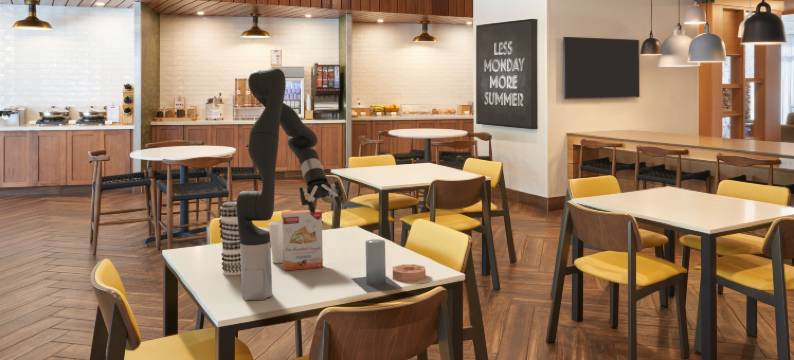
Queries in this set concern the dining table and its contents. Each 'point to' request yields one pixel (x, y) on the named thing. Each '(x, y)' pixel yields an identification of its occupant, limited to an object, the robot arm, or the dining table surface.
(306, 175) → the robot arm
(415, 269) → the pink donut
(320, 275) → the dining table surface
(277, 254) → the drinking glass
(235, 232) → the decorative candle
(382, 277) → the grey pillar
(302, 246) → the cracker box
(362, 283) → the mat
